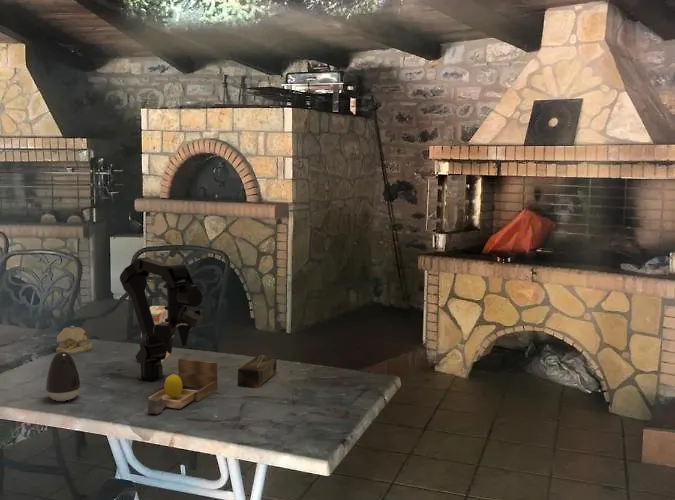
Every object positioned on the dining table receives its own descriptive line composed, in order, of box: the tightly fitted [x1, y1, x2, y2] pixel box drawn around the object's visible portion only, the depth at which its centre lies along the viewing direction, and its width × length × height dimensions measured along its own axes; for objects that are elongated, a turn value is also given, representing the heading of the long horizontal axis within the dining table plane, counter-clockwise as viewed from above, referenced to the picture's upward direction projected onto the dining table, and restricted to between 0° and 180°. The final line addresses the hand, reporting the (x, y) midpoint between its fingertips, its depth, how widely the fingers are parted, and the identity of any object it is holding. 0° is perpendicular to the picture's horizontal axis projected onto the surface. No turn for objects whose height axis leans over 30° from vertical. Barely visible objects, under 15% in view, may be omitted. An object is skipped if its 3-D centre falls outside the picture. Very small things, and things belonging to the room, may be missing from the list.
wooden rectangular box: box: [237, 354, 278, 389], centre depth 232 cm, size 8×19×6 cm, turn 165°
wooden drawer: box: [147, 388, 198, 415], centre depth 206 cm, size 11×17×4 cm, turn 162°
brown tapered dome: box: [45, 351, 82, 402], centre depth 210 cm, size 10×10×15 cm
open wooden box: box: [157, 358, 219, 403], centre depth 217 cm, size 14×13×9 cm
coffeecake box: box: [140, 305, 171, 364], centre depth 254 cm, size 15×7×20 cm, turn 179°
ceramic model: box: [55, 325, 93, 354], centre depth 267 cm, size 14×11×10 cm
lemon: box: [163, 373, 184, 399], centre depth 209 cm, size 6×6×8 cm
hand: (177, 349), depth 221 cm, fingers open, 9 cm apart
